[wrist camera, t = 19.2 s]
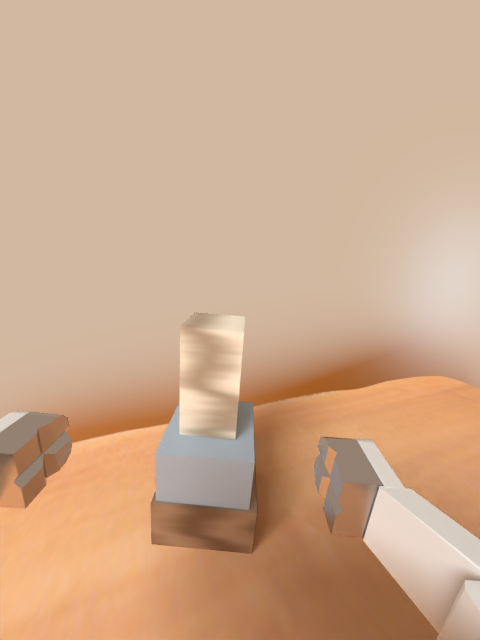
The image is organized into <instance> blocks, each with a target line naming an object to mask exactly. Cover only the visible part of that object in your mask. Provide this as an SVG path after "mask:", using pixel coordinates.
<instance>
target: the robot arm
mask: <svg viewBox="0 0 480 640" xmlns="http://www.w3.org/2000/svg"><path fill="white" fill-rule="evenodd" d="M68 428H69V421H68V417H66V416H64V415H56V414H47V413H37V412H25V411H15V412H11V413H9V414H8V415H6V416H4V417H3V418H1V419H0V507H9V508H26V507H27V506H28V505H29V504H30V503H31V502H32V501H33V499H34V498H35V497H36V496H37V495H38V494H39V493H40V492H41V490H42V489H43V488H44V487H45V486H46V483H47V477H49V476H51V475H53V474H54V473H56V472H58V471H59V470H60V469H61V467H62V466H63V465H64V464H65V463H66V461H67V459H68V457H69V455H70V453H71V448H72V442H71V441H72V440H71V437H70V436H69V435H68V434H67V433H66V430H67V429H68ZM318 448H319V450H320V453H321V454H320V455H319V456H318V457H317V458H316V461H315V481H316V486H317V489H318V493H319V494H320V495H321V496H322V497H323V498H324V499H325V503H324V507H323V509H324V513H325V516H326V519H327V522H328V526H329V529H330V532H331V535H338V536H346V537H354V538H363V541H364V542H365V543H366V545H367V546H368V547H369V548H370V550H371V551H372V552H373V553H374V555H375V556H376V557H377V558H378V560H379V561H380V562H381V563H382V564H383V566H384V567H385V568H386V569H387V571H388V572H389V573H390V574H391V576H392V577H393V578H394V579H395V581H396V582H397V583H398V584H399V585H400V587H401V588H402V589H403V590H404V592H405V593H406V594H407V595H408V597H409V598H410V599H411V600H412V602H413V603H414V604H415V605H416V606H417V608H418V609H419V610H420V611H421V613H422V614H423V615H424V616H425V618H426V619H427V620H428V621H429V623H430V624H431V625H432V626H433V627H434V629H435V630H436V631H437V632H438V636H437V638H436V640H480V539H478V538H477V537H476V536H474V535H473V534H472V533H470V532H469V531H467V530H466V529H465V528H463V527H462V526H461V525H459V524H458V523H457V522H455V521H454V520H453V519H451V518H450V517H448V516H447V515H446V514H444V513H443V512H442V511H440V510H439V509H438V508H436V507H435V506H434V505H432V504H431V503H429V502H428V501H427V500H425V499H424V498H423V497H421V496H420V495H419V494H417V493H416V492H415V491H413V490H412V489H407V488H405V487H404V486H403V484H402V483H401V481H400V480H399V478H398V477H397V475H396V474H395V472H394V471H393V470H392V468H391V467H390V465H389V464H388V462H387V461H386V459H385V458H384V456H383V455H382V454H381V452H380V451H379V449H378V448H377V446H376V445H375V443H374V442H373V441H371V440H370V439H349V438H335V437H321V439H320V441H319V445H318Z"/></svg>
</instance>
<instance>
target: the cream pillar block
mask: <svg viewBox="0 0 480 640" xmlns="http://www.w3.org/2000/svg"><path fill="white" fill-rule="evenodd" d="M244 326H245V317H244V316H231V315H219V314H206V313H194V314H193V315H192V316H191V317H190V318H189V319H188V320H187V321H186V322H185V323H183V324H182V325H181V327H180V421H179V434H181V435H192V436H203V437H214V438H225V439H235V438H236V426H237V414H238V401H239V389H240V375H241V363H242V351H243V338H244Z"/></svg>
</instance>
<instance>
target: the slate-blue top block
mask: <svg viewBox="0 0 480 640" xmlns="http://www.w3.org/2000/svg"><path fill="white" fill-rule="evenodd" d="M179 421H180V402H179V404H178V406H177V408H176V411H175V413H174V415H173V417H172V419H171V421H170V423H169V425H168V427H167V429H166V431H165V433H164V435H163V437H162V439H161V442H160V444H159V446H158V448H157V450H156V452H155V485H156V501H163V502H173V503H183V504H194V505H204V506H214V507H224V508H234V509H244V510H249V506H250V498H251V489H252V481H253V473H254V464H255V456H254V420H253V403H252V402H241V401H238V414H237V426H236V438H235V439H225V438H214V437H203V436H192V435H181V434H179Z"/></svg>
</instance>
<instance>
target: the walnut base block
mask: <svg viewBox="0 0 480 640" xmlns="http://www.w3.org/2000/svg"><path fill="white" fill-rule="evenodd" d="M254 456H255V444H254ZM256 518H257V498H256V471H255V464H254V473H253V481H252V489H251V498H250V506H249V510H244V509H234V508H224V507H214V506H204V505H194V504H183V503H173V502H163V501H156V491H155V494H154V497H153V499H152V502H151V538H152V544H157V545H167V546H178V547H188V548H199V549H209V550H219V551H230V552H240V553H251V554H252V548H253V540H254V533H255V525H256Z"/></svg>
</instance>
